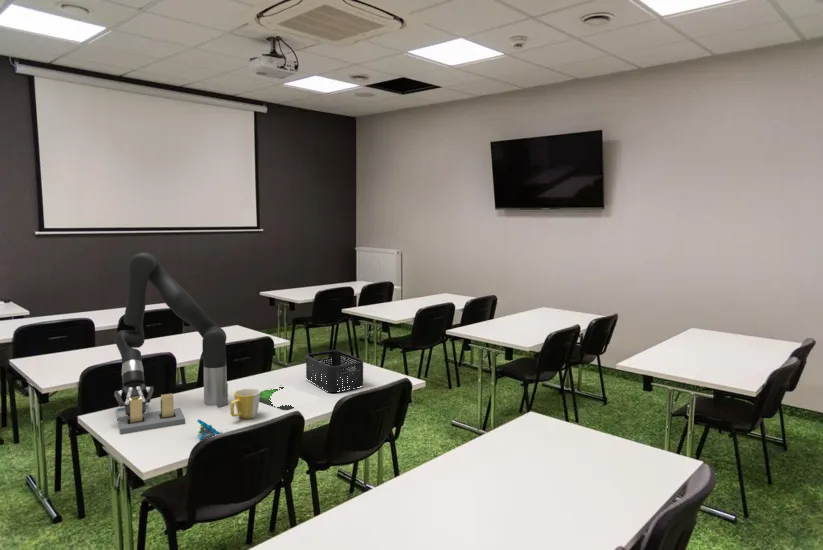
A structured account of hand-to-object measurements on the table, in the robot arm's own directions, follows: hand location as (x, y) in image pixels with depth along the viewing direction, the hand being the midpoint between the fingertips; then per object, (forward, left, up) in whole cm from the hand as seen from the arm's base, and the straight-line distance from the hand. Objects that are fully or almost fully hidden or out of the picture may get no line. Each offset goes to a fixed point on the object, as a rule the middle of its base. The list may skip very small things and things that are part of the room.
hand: (136, 413), depth 199 cm
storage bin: (-89, -19, -7) cm, 91 cm away
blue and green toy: (-22, +19, -7) cm, 30 cm away
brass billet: (0, -2, -4) cm, 5 cm away
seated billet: (-11, -2, -5) cm, 12 cm away
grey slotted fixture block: (-5, -2, -6) cm, 9 cm away
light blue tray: (0, -16, -6) cm, 17 cm away
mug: (-38, +6, -6) cm, 40 cm away
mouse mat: (-60, -10, -7) cm, 62 cm away
